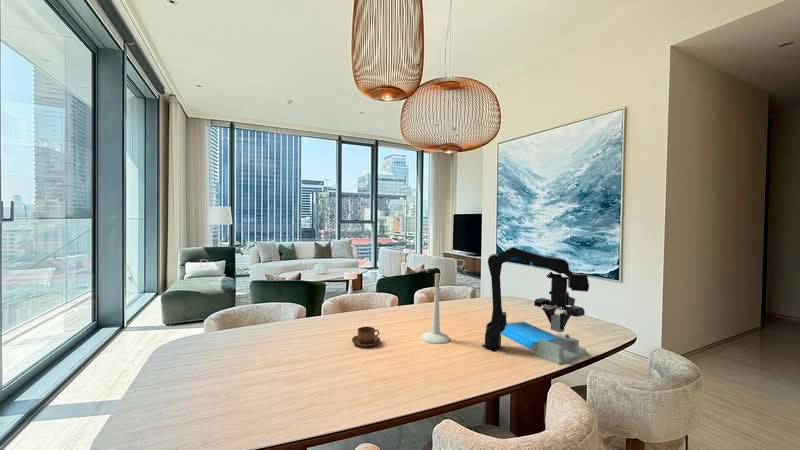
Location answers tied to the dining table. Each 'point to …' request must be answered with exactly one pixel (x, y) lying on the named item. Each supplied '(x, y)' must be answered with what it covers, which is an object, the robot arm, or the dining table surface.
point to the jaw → (567, 342)
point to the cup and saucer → (366, 337)
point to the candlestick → (436, 320)
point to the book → (527, 334)
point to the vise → (557, 352)
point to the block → (556, 323)
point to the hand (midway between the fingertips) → (557, 327)
